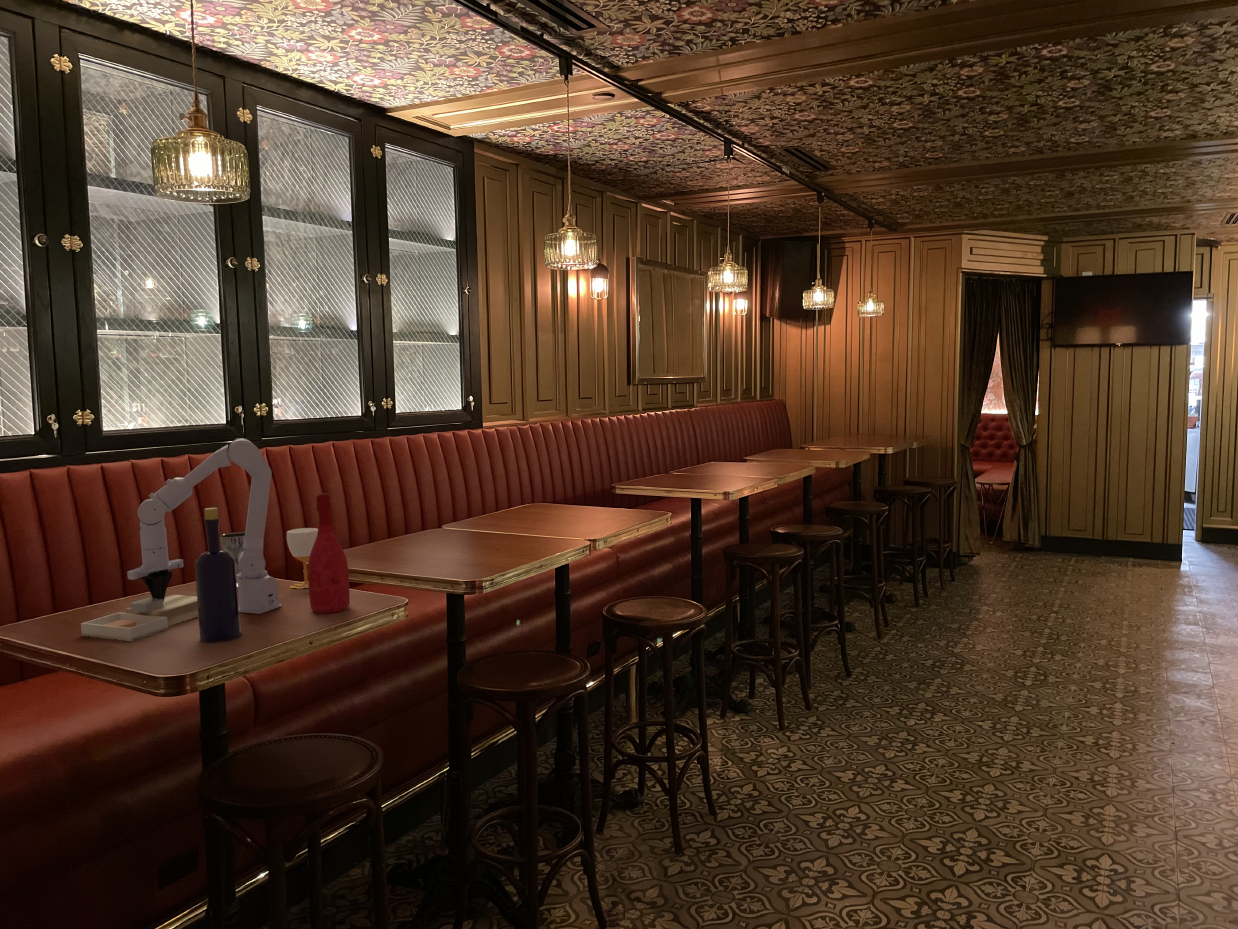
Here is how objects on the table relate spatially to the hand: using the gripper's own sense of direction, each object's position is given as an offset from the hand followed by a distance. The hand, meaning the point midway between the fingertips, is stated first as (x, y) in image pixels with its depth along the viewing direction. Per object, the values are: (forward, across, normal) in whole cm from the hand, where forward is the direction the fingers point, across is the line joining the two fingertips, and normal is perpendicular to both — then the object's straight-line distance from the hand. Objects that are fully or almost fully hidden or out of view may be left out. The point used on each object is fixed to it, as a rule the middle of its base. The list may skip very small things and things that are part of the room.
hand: (159, 601), depth 215 cm
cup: (+5, -41, +10) cm, 42 cm away
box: (+5, +10, 0) cm, 11 cm away
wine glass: (+5, -36, -10) cm, 37 cm away
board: (+5, -3, 0) cm, 6 cm away
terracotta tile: (+2, +11, 0) cm, 11 cm away
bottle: (+5, +6, +26) cm, 27 cm away
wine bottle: (+5, -21, +35) cm, 41 cm away
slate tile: (+1, +4, 0) cm, 4 cm away
